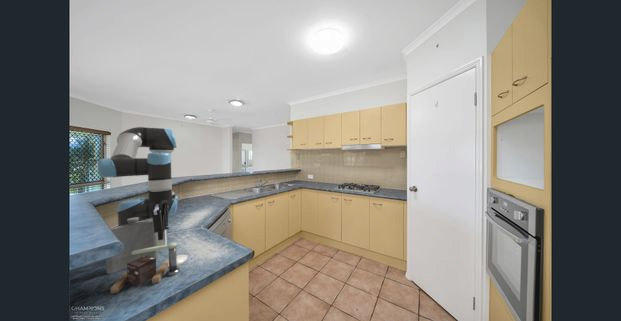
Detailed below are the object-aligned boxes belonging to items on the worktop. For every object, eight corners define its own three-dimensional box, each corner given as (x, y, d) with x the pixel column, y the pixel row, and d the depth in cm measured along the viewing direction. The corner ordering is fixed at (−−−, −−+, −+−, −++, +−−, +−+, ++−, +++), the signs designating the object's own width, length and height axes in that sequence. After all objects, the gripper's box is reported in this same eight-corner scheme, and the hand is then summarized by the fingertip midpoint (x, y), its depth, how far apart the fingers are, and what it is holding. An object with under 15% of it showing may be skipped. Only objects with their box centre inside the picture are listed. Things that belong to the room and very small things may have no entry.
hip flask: (106, 275, 71) (105, 224, 71) (106, 270, 74) (105, 222, 73) (158, 257, 83) (157, 214, 82) (157, 254, 85) (156, 213, 85)
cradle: (126, 276, 70) (126, 271, 70) (168, 267, 75) (167, 262, 75) (110, 294, 60) (110, 288, 60) (159, 282, 66) (158, 277, 66)
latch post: (168, 270, 73) (167, 246, 72) (181, 268, 74) (180, 244, 74) (164, 277, 68) (163, 251, 68) (178, 274, 70) (177, 249, 70)
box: (126, 283, 66) (126, 263, 66) (146, 273, 71) (145, 255, 71) (138, 286, 64) (137, 266, 64) (156, 276, 70) (156, 257, 69)
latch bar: (134, 252, 68) (134, 249, 68) (178, 244, 73) (177, 241, 73) (130, 256, 65) (130, 252, 65) (175, 247, 71) (175, 244, 71)
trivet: (165, 259, 81) (165, 257, 81) (189, 254, 85) (189, 252, 85) (158, 270, 73) (158, 268, 73) (184, 264, 77) (184, 262, 77)
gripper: (155, 188, 79) (156, 241, 79) (141, 193, 67) (143, 256, 67) (175, 187, 82) (177, 238, 82) (166, 191, 70) (168, 251, 70)
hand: (162, 246), depth 75 cm, fingers closed
